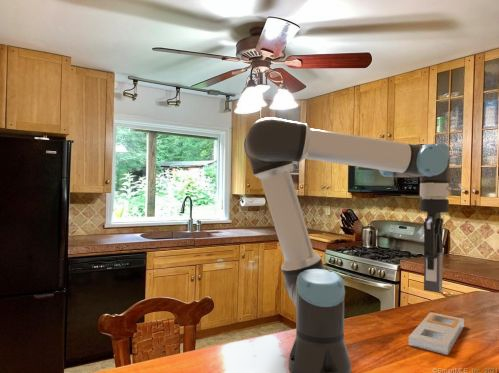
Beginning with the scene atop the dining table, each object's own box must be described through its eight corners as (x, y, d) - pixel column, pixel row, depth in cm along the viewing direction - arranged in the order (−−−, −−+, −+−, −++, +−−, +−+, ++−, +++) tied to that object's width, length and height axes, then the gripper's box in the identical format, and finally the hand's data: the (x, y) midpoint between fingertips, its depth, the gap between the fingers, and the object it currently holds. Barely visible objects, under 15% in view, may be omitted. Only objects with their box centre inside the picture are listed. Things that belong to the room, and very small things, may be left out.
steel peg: (423, 290, 108) (424, 252, 108) (427, 287, 111) (427, 250, 111) (439, 292, 106) (439, 253, 106) (442, 289, 109) (442, 251, 109)
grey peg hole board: (408, 345, 107) (408, 335, 107) (430, 319, 127) (430, 311, 127) (447, 355, 101) (447, 345, 101) (463, 326, 121) (464, 318, 121)
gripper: (442, 199, 99) (441, 287, 99) (454, 197, 113) (453, 275, 113) (412, 198, 104) (411, 282, 104) (427, 197, 117) (426, 271, 117)
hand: (433, 278), depth 108 cm, fingers closed on steel peg, 4 cm apart
